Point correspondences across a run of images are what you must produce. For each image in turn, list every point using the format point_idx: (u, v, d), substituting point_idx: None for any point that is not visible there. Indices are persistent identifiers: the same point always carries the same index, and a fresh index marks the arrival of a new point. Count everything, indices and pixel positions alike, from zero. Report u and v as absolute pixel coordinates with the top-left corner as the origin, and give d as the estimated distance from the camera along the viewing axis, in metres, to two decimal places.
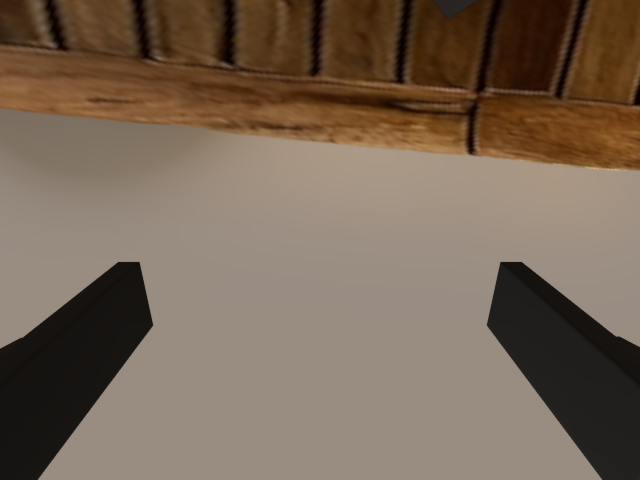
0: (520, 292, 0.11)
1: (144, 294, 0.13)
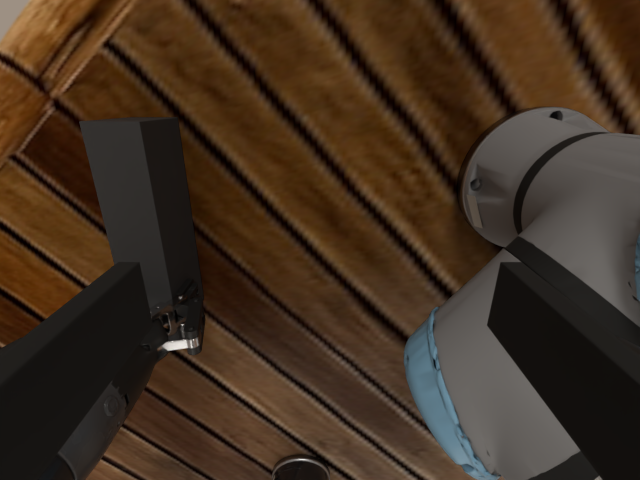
0: (520, 292, 0.11)
1: (144, 294, 0.13)
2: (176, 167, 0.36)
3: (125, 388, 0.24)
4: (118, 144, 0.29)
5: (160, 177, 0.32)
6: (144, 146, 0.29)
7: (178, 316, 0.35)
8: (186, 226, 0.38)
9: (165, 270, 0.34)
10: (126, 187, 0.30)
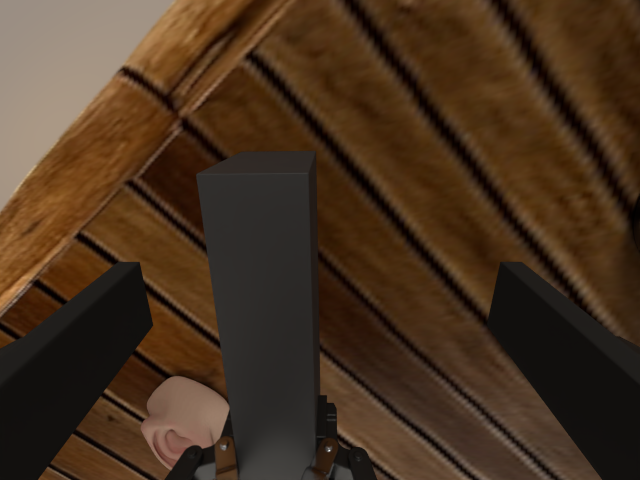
0: (521, 292, 0.11)
1: (144, 294, 0.13)
2: None
3: None
4: (264, 214, 0.16)
5: (313, 258, 0.19)
6: (310, 215, 0.16)
7: None
8: (317, 316, 0.25)
9: (312, 410, 0.20)
10: (267, 285, 0.17)
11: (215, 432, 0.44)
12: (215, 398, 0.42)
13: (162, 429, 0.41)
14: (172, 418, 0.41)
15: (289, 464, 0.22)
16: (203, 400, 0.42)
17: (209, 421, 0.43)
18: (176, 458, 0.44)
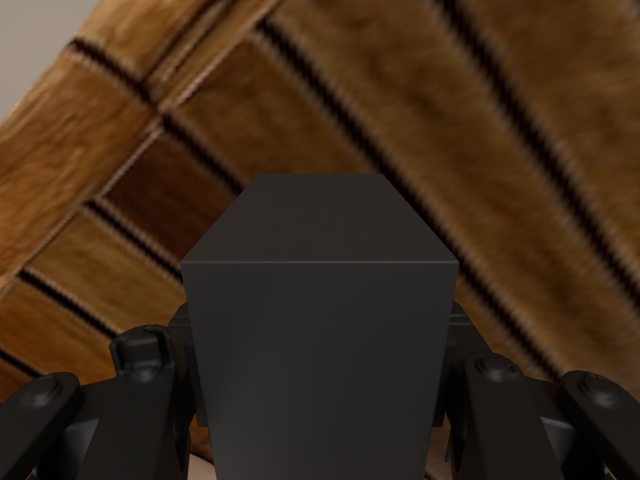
0: None
1: None
2: None
3: None
4: (340, 346, 0.07)
5: None
6: (442, 347, 0.07)
7: None
8: None
9: None
10: (331, 472, 0.08)
11: None
12: (209, 471, 0.33)
13: None
14: None
15: None
16: (193, 475, 0.33)
17: None
18: None
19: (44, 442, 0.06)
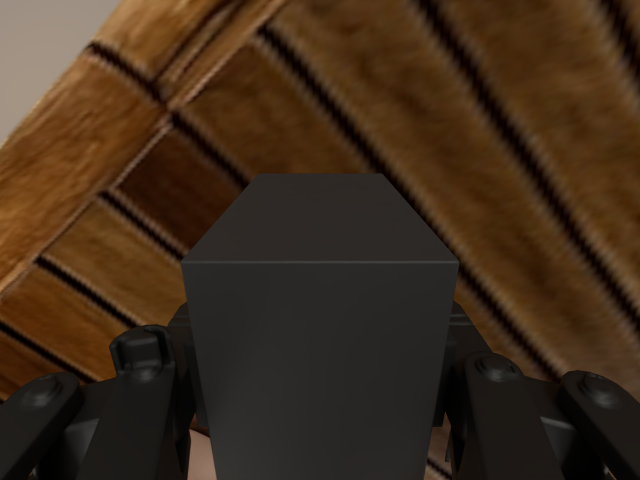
0: None
1: None
2: None
3: None
4: (340, 346, 0.07)
5: None
6: (442, 347, 0.07)
7: None
8: None
9: None
10: (331, 472, 0.08)
11: None
12: None
13: None
14: None
15: None
16: (198, 451, 0.35)
17: (205, 474, 0.36)
18: None
19: (44, 442, 0.06)
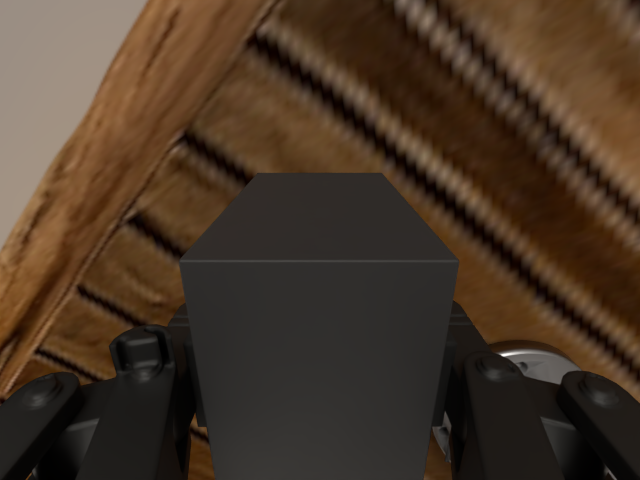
0: None
1: None
2: None
3: None
4: (339, 346, 0.07)
5: None
6: (442, 346, 0.07)
7: None
8: None
9: None
10: (331, 472, 0.08)
11: None
12: None
13: None
14: None
15: None
16: None
17: None
18: None
19: (44, 442, 0.06)
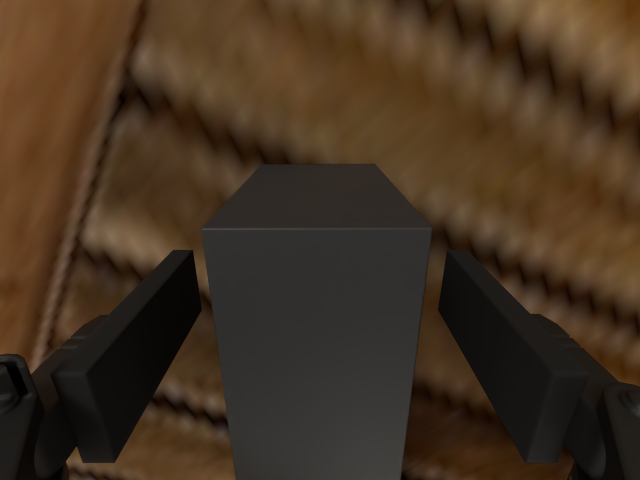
0: (460, 277, 0.12)
1: (196, 280, 0.14)
2: None
3: None
4: (334, 302, 0.08)
5: None
6: (421, 304, 0.08)
7: None
8: None
9: None
10: (328, 417, 0.09)
11: None
12: None
13: None
14: None
15: None
16: None
17: None
18: None
19: None
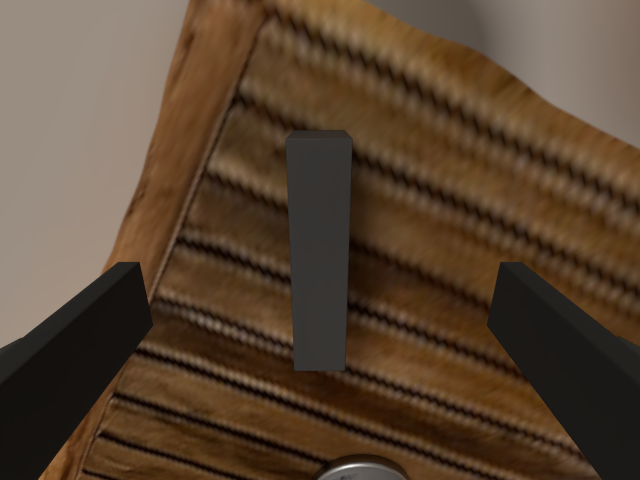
0: (521, 292, 0.11)
1: (144, 294, 0.13)
2: None
3: None
4: (324, 163, 0.26)
5: None
6: (351, 165, 0.27)
7: None
8: None
9: (345, 298, 0.31)
10: (322, 209, 0.28)
11: None
12: None
13: None
14: None
15: (328, 339, 0.32)
16: None
17: None
18: None
19: None
